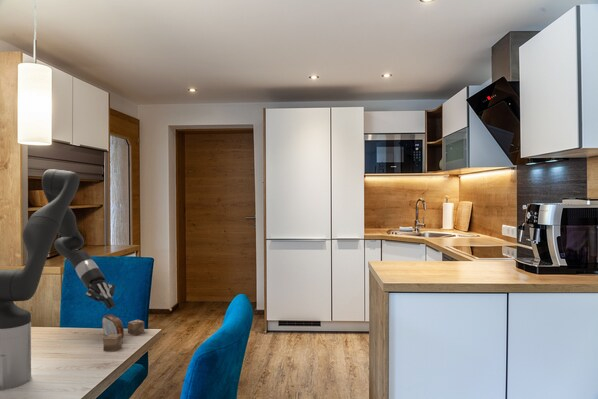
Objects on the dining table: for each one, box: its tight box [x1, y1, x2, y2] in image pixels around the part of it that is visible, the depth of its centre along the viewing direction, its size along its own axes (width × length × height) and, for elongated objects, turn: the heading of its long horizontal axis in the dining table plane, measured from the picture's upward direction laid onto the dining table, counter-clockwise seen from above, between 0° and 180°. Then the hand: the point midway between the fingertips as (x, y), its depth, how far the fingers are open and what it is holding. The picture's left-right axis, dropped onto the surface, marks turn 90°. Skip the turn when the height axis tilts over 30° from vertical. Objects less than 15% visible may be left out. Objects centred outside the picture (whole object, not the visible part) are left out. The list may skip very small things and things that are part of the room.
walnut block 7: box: [127, 319, 145, 336], centre depth 162 cm, size 4×4×5 cm
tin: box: [101, 313, 125, 340], centre depth 156 cm, size 15×3×8 cm, turn 47°
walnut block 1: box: [102, 334, 123, 352], centre depth 145 cm, size 4×4×5 cm
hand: (112, 307), depth 156 cm, fingers closed
